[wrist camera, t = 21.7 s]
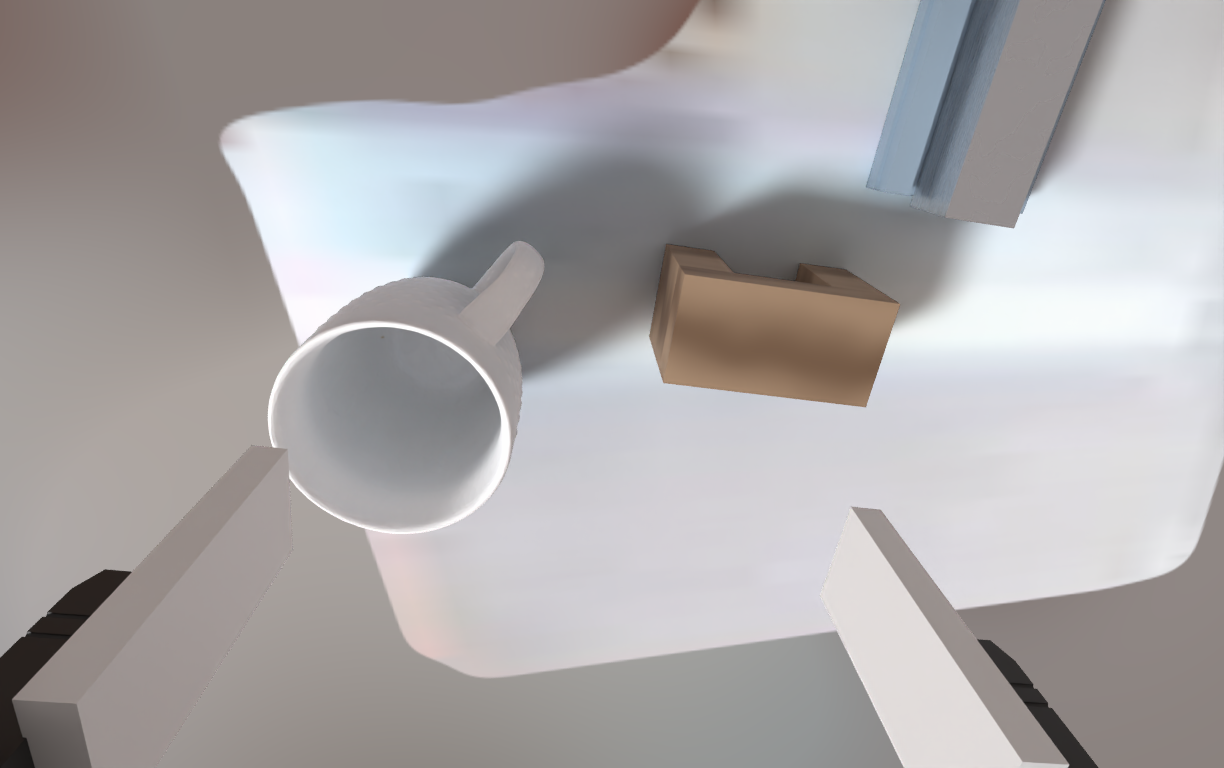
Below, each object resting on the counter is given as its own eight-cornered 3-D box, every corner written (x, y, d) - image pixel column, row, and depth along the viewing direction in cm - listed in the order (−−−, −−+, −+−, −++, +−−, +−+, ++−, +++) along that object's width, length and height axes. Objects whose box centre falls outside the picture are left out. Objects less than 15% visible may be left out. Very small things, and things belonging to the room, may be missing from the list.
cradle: (934, -49, 34) (955, -57, 32) (1091, -17, 35) (1119, -24, 33) (866, 187, 39) (880, 191, 37) (1005, 209, 40) (1026, 214, 38)
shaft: (1008, -99, 33) (1063, -124, 29) (1081, -83, 33) (1144, -106, 29) (909, 206, 38) (944, 217, 35) (972, 216, 39) (1013, 228, 35)
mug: (467, 162, 37) (415, 192, 25) (609, 288, 41) (622, 367, 29) (321, 345, 41) (215, 446, 29) (461, 446, 44) (418, 574, 32)
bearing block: (666, 244, 40) (684, 274, 33) (845, 269, 41) (900, 304, 34) (649, 336, 42) (663, 382, 35) (819, 358, 43) (865, 407, 36)
